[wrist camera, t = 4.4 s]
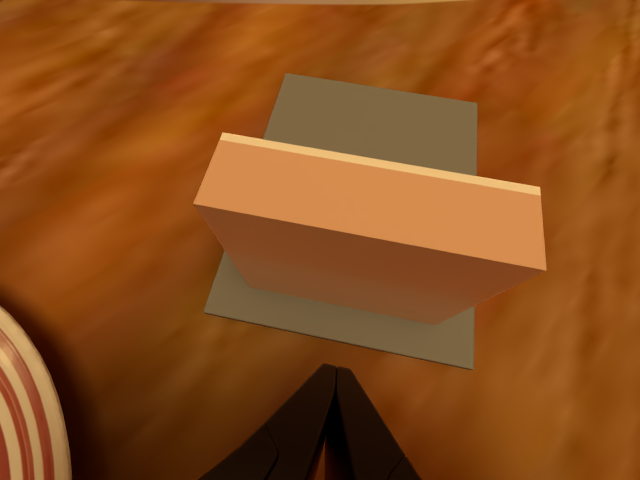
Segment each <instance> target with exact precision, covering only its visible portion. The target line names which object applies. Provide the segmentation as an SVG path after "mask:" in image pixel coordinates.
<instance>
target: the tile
mask: <svg viewBox="0 0 640 480" xmlns="http://www.w3.org/2000/svg"><path fill="white" fill-rule="evenodd" d="M193 204H194V205H195V207H196V208H197V210H198V211H199V213H200V214H201V216H202V217H203V219H204V220H205V222H206V223H207V225H208V226H209V228H210V229H211V231H212V232H213V233H214V235H215V236H216V238H217V239H218V241H219V242H220V244H221V245H222V247H223V248H224V250H225V251H226V253H227V254H228V256H229V257H230V259H231V260H232V262H233V263H234V265H235V266H236V268H237V269H238V270H239V272H240V273H241V275H242V276H243V278H244V279H245V281H246V282H247V284H248V285H249V287H251V288H256V289H261V290H266V291H271V292H276V293H280V294H285V295H290V296H295V297H300V298H305V299H310V300H315V301H320V302H324V303H329V304H334V305H339V306H344V307H349V308H354V309H359V310H363V311H368V312H373V313H378V314H383V315H388V316H393V317H398V318H403V319H407V320H412V321H417V322H422V323H427V324H432V325H437V324H439V323H441V322H443V321H445V320H447V319H449V318H451V317H453V316H455V315H457V314H459V313H461V312H463V311H465V310H467V309H469V308H471V307H473V306H475V305H477V304H479V303H481V302H483V301H486V300H488V299H490V298H492V297H494V296H496V295H498V294H500V293H502V292H504V291H506V290H508V289H510V288H512V287H514V286H516V285H518V284H520V283H522V282H524V281H526V280H528V279H530V278H532V277H534V276H536V275H538V274H540V273H542V272H544V271H546V259H545V246H544V233H543V220H542V207H541V194H540V187H536V186H530V185H524V184H518V183H513V182H507V181H501V180H495V179H489V178H484V177H478V176H472V175H466V174H460V173H455V172H449V171H443V170H437V169H431V168H426V167H420V166H414V165H408V164H402V163H397V162H391V161H385V160H379V159H373V158H368V157H362V156H356V155H350V154H344V153H339V152H333V151H327V150H321V149H315V148H310V147H304V146H298V145H292V144H286V143H281V142H275V141H269V140H263V139H257V138H252V137H246V136H240V135H234V134H228V133H222V136H221V138H220V140H219V143H218V145H217V148H216V150H215V153H214V155H213V157H212V160H211V162H210V165H209V167H208V170H207V172H206V174H205V177H204V179H203V182H202V184H201V186H200V189H199V191H198V194H197V196H196V199H195V201H194V203H193Z"/></svg>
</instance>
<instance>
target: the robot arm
mask: <svg viewBox="0 0 640 480" xmlns="http://www.w3.org/2000/svg"><path fill="white" fill-rule="evenodd" d="M325 437H326V438H325ZM324 442H325V480H422V479H421V478H420V477H419V475H418V474H417V472H416V471H415V469H414V468H413V466H412V464H411V463H410V461H409V460H408V458H407V457H405V454H404V453H403V451H402V449H401V448H400V446H399V445H398V443H397V442H396V440H395V438H394V437H393V435H392V434H391V432H390V431H389V429H388V427H387V426H386V424H385V423H384V421H383V420H382V418H381V416H380V415H379V413H378V412H377V410H376V409H375V407H374V405H373V404H372V402H371V401H370V399H369V397H368V396H367V394H366V393H365V391H364V390H363V388H362V386H361V385H360V383H359V382H358V380H357V379H356V377H355V375H354V374H353V372H352V371H351V370H350V369H348V368H343V367H337V369H336V366H334V365H329V364H323V365H321V366H320V367H319V368H318V369H317V370H316V371H315V372H314V373H313V375H312V376H311V377H310V378H309V379H308V380H307V381H306V382H305V383H304V384H303V385H302V386H301V387H300V388H299V389H298V390H297V391H296V392H295V393H294V394H293V395H292V396H291V397H290V398H289V399H288V400H287V401H286V402H285V403H284V404H283V405H282V406H281V407H280V408H279V409H278V410H277V411H276V412H275V413H274V414H273V415H272V416H271V417H270V418H269V419H268V420H267V421H266V422H265V423H264V424H263V425H261V426H260V427H259V428H258V429H257V430H256V432H255V433H254V434H252V435H251V436H250V437H249V438H248V439H247V440H246V441H245V442H244V443H243V444H242V445H241V446H240V447H238V448H237V449H236V450H235V451H234V452H232V453H231V454H230V455H229V456H227V457H226V458H225V459H224V460H223V461H221V462H220V463H219V464H217V465H216V466H215V467H213V468H212V469H211V470H210V471H208V472H207V473H206V474H204V475H203V476H202V477H201V478H199V479H198V480H315V476H316V472H317V469H318V465H319V461H320V457H321V454H322V450H323V446H324Z"/></svg>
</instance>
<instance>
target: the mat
mask: <svg viewBox="0 0 640 480" xmlns="http://www.w3.org/2000/svg"><path fill="white" fill-rule="evenodd" d="M263 140H269V141H275V142H281V143H286V144H292V145H298V146H304V147H310V148H315V149H321V150H327V151H333V152H339V153H344V154H350V155H356V156H362V157H368V158H373V159H379V160H385V161H391V162H397V163H402V164H408V165H414V166H420V167H426V168H431V169H437V170H443V171H449V172H455V173H460V174H466V175H472V176H476V167H477V103H473V102H467V101H461V100H454V99H448V98H442V97H435V96H429V95H422V94H416V93H410V92H403V91H397V90H391V89H384V88H378V87H372V86H365V85H359V84H353V83H346V82H340V81H334V80H327V79H321V78H314V77H308V76H302V75H295V74H289V73H286V74H285V77H284V80H283V83H282V86H281V89H280V92H279V94H278V97H277V100H276V103H275V106H274V109H273V112H272V115H271V118H270V121H269V123H268V126H267V129H266V132H265V135H264V138H263ZM203 312H204V313H206V314H210V315H215V316H220V317H224V318H229V319H234V320H238V321H243V322H248V323H253V324H257V325H262V326H267V327H271V328H276V329H281V330H285V331H290V332H295V333H300V334H304V335H309V336H314V337H318V338H323V339H328V340H333V341H337V342H342V343H347V344H351V345H356V346H361V347H365V348H370V349H375V350H380V351H384V352H389V353H394V354H398V355H403V356H408V357H412V358H417V359H422V360H427V361H431V362H436V363H441V364H445V365H450V366H455V367H460V368H464V369H469V370H473V369H474V306H473V307H471V308H469V309H467V310H465V311H463V312H461V313H459V314H457V315H455V316H453V317H451V318H449V319H447V320H445V321H443V322H441V323H439V324H437V325H432V324H427V323H422V322H417V321H412V320H407V319H403V318H398V317H393V316H388V315H383V314H378V313H373V312H368V311H363V310H359V309H354V308H349V307H344V306H339V305H334V304H329V303H324V302H320V301H315V300H310V299H305V298H300V297H295V296H290V295H285V294H280V293H276V292H271V291H266V290H261V289H256V288H251V287H249V285H248V284H247V282H246V281H245V279H244V278H243V276H242V275H241V273H240V272H239V270H238V269H237V268H236V266H235V265H234V263H233V262H232V260H231V259H230V257H229V256H228V254H227V253H226V251H224V254H223V256H222V259H221V262H220V265H219V268H218V271H217V274H216V277H215V280H214V282H213V285H212V288H211V291H210V294H209V297H208V300H207V303H206V306H205V309H204V311H203Z"/></svg>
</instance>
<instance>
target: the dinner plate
mask: <svg viewBox="0 0 640 480" xmlns="http://www.w3.org/2000/svg"><path fill="white" fill-rule="evenodd" d="M0 480H72V468H71V458H70V449H69V443H68V437H67V431H66V426H65V421H64V416H63V412H62V408H61V405H60V401H59V397H58V394H57V391H56V388H55V386H54V383H53V380H52V377H51V375H50V373H49V371H48V369H47V367H46V365H45V363H44V361H43V359H42V357H41V355H40V353H39V352H38V350H37V349H36V347H35V345H34V344H33V342H32V341H31V339H30V337H29V336H28V335H27V333H26V332H25V331H24V330H23V328H22V327H21V326H20V325H19V323H18V322H17V321H16V320H15V319H14V318H13V317H12V316H11V315H10V314H9V313H8V312H7V311H6V310H5V309H4V308H3V307H2V306H0Z"/></svg>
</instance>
